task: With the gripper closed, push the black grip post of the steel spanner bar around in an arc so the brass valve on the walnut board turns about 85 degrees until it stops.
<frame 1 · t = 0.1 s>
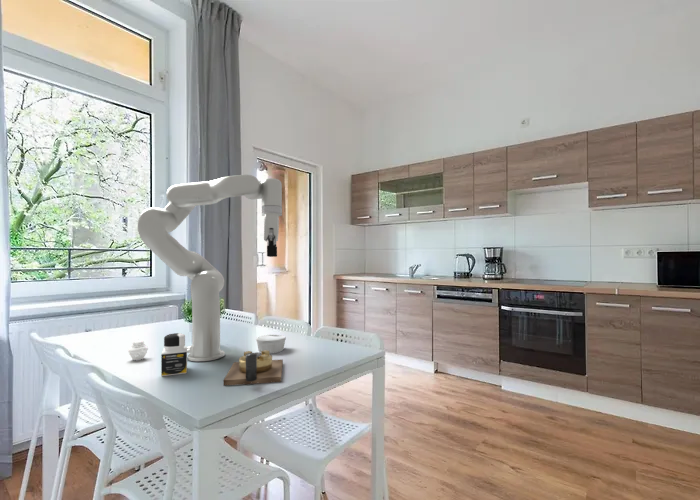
hand: (272, 256, 135), 37 cm above the table, tool pointing down, fingers open, 9 cm apart
medicine bottle: (174, 372, 114), on the table
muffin: (138, 359, 129), on the table
ramekin: (271, 351, 139), on the table
walnut board: (255, 373, 111), on the table
brass valve: (254, 359, 107), point 5 cm above the table, hinge at 0.0°
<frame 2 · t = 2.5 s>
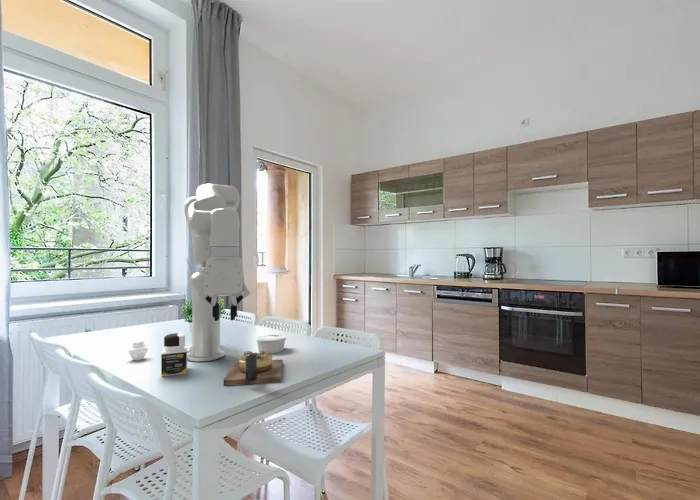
hand: (224, 319, 99), 19 cm above the table, tool pointing down, fingers open, 3 cm apart
nothing on the table moved.
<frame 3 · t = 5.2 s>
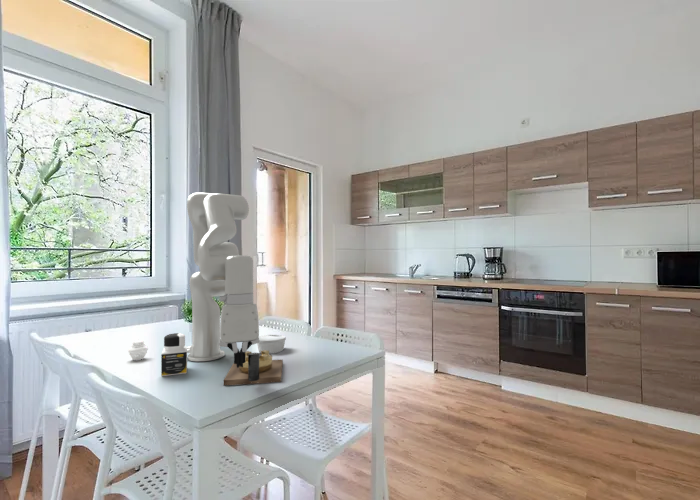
hand: (239, 365, 99), 6 cm above the table, tool pointing down, fingers closed
brass valve: (255, 359, 107), point 6 cm above the table, hinge at 3.4°, touching gripper
everything else where it was.
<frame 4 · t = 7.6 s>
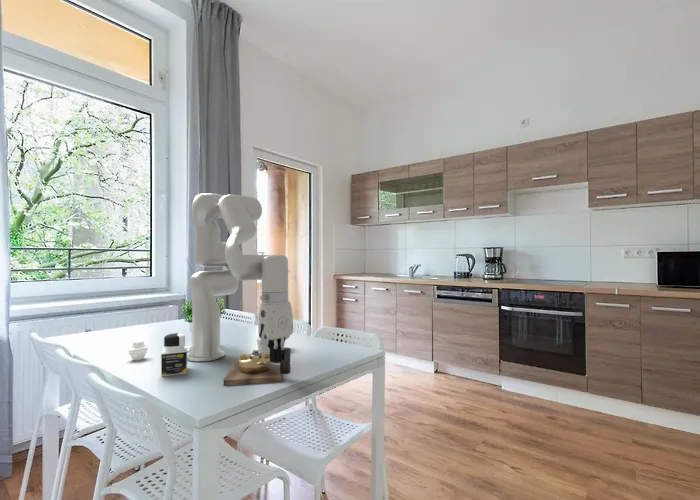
hand: (275, 361, 102), 6 cm above the table, tool pointing down, fingers closed
brass valve: (265, 357, 109), point 6 cm above the table, hinge at 50.6°, touching gripper
everything else where it was.
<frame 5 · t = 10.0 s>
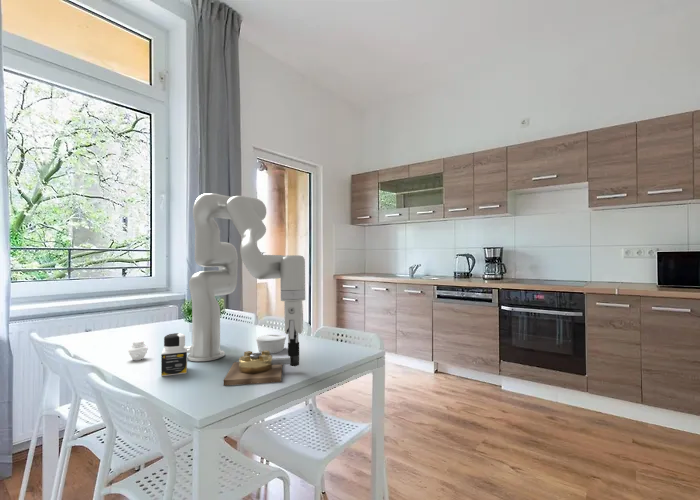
hand: (293, 355, 109), 6 cm above the table, tool pointing down, fingers closed
brass valve: (269, 355, 112), point 6 cm above the table, hinge at 88.2°, touching gripper
everything else where it was.
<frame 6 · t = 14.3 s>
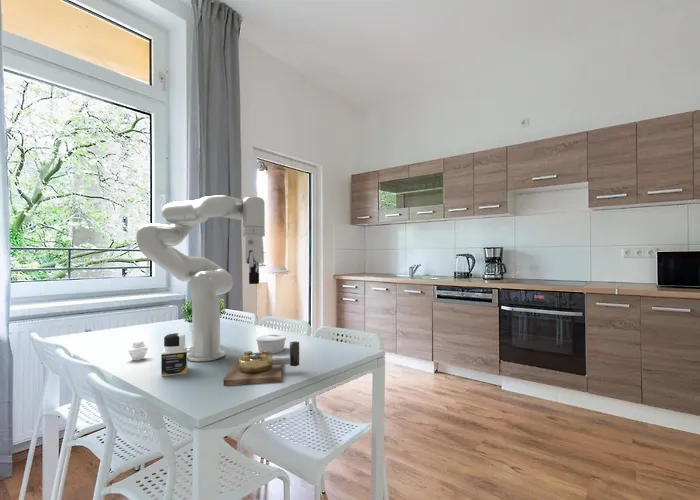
hand: (254, 283, 126), 27 cm above the table, tool pointing down, fingers closed
brass valve: (269, 355, 112), point 6 cm above the table, hinge at 88.3°
everything else where it was.
at the end: brass valve at +88° (first picture: +0°); medicine bottle moved 0.2 cm from its start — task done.
